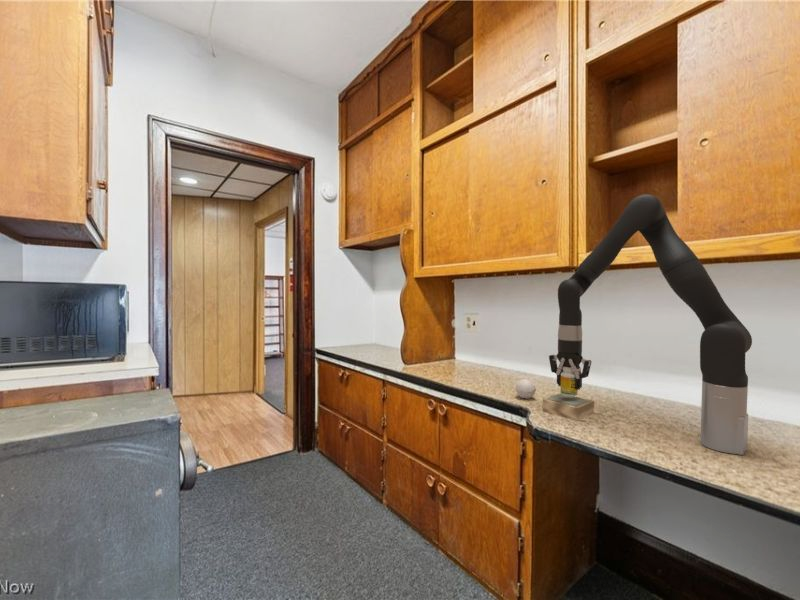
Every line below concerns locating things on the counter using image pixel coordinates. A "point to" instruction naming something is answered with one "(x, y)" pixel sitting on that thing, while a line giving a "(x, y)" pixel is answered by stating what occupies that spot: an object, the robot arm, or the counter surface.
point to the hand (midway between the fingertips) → (568, 387)
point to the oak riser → (568, 406)
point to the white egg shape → (525, 388)
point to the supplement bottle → (568, 382)
